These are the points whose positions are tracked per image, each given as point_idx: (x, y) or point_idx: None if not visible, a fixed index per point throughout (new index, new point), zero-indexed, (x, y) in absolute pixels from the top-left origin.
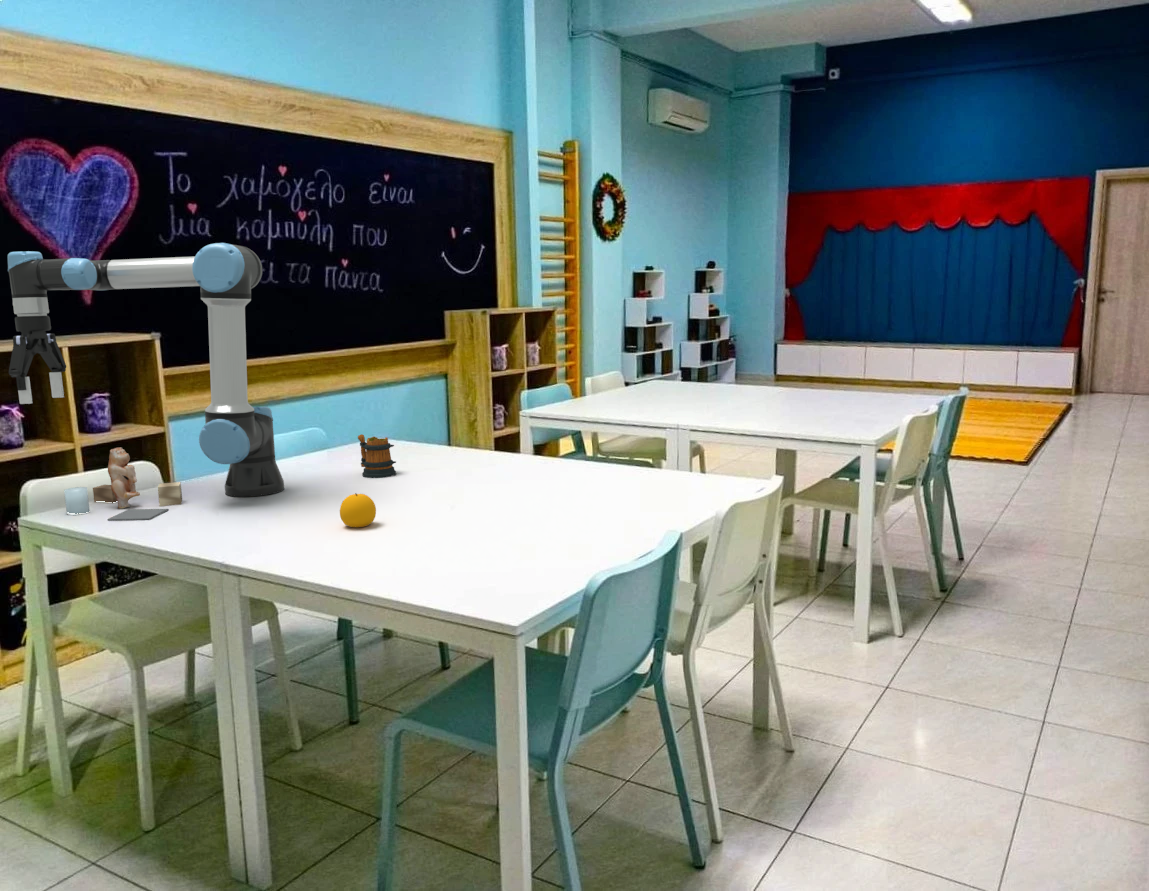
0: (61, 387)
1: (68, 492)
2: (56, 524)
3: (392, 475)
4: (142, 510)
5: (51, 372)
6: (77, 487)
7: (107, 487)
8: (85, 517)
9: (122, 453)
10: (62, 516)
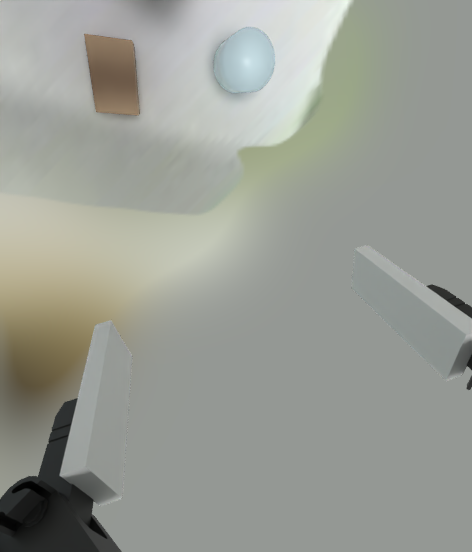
0: (102, 362)
1: (274, 61)
2: (329, 32)
3: None
4: None
5: (107, 497)
6: (231, 73)
7: (122, 69)
8: (273, 4)
9: None
10: None
